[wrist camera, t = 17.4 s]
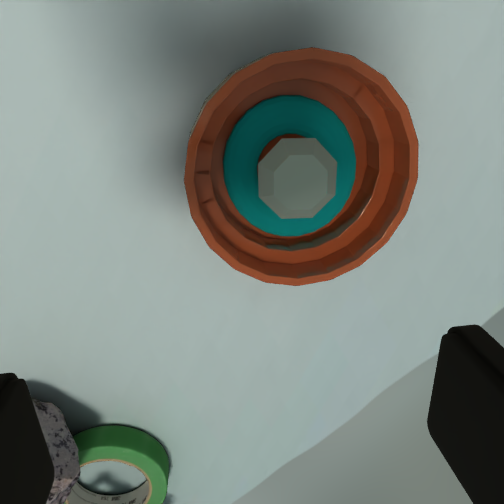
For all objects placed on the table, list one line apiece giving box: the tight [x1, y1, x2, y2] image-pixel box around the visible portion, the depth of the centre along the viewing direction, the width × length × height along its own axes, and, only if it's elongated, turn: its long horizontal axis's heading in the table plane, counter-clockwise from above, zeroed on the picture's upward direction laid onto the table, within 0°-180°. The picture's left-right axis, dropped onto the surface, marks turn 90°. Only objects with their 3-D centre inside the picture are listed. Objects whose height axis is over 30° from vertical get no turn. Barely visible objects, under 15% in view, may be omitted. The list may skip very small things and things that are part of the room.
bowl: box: [184, 47, 418, 286], centre depth 29 cm, size 15×15×6 cm
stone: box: [32, 399, 80, 504], centre depth 35 cm, size 13×7×10 cm
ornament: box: [223, 95, 356, 237], centre depth 30 cm, size 11×4×10 cm
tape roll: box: [64, 426, 169, 504], centre depth 40 cm, size 11×11×3 cm
